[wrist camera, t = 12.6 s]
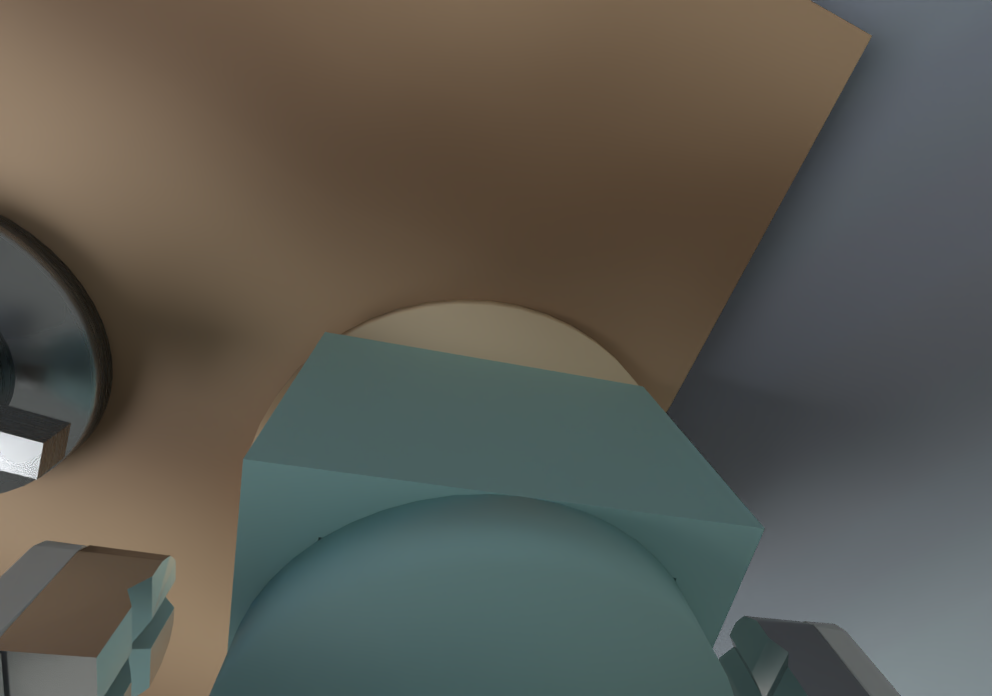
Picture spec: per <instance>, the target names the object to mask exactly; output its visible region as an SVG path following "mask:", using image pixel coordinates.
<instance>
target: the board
mask: <svg viewBox="0 0 992 696" xmlns="http://www.w3.org/2000/svg"><path fill="white" fill-rule="evenodd" d="M871 37H872V35H870V34H868V33H866V32H865V31H863V30H861V29H859V28H858V27H856V26H854V25H852V24H851V23H849V22H847V21H845V20H844V19H842V18H840V17H838V16H837V15H835V14H833V13H831V12H830V11H828V10H826V9H824V8H823V7H821V6H819V5H817V4H816V3H814V2H812V1H810V0H0V215H2V216H4V217H6V218H8V219H10V220H11V221H13V222H14V223H16V224H17V225H19V226H20V227H22V228H23V229H25V230H26V231H28V232H30V233H31V234H32V235H34V236H35V237H36V238H37V239H39V240H40V241H41V242H42V243H43V244H45V245H46V246H47V247H48V248H50V249H51V250H52V251H53V252H54V253H55V254H56V255H57V256H58V257H59V258H60V259H61V260H62V261H63V262H64V263H65V264H66V265H67V266H68V267H69V269H70V270H71V271H72V272H73V274H74V275H75V276H76V277H77V279H78V280H79V281H80V282H81V284H82V285H83V287H84V288H85V290H86V291H87V293H88V295H89V296H90V298H91V299H92V301H93V302H94V304H95V306H96V309H97V311H98V313H99V315H100V317H101V319H102V321H103V324H104V327H105V330H106V333H107V336H108V339H109V344H110V349H111V355H112V369H113V379H112V386H111V394H110V397H109V400H108V404H107V407H106V410H105V412H104V414H103V416H102V418H101V420H100V422H99V424H98V426H97V427H96V428H95V430H94V431H93V432H92V434H91V435H90V436H89V438H88V439H87V440H86V441H85V442H84V443H83V444H82V445H81V446H80V447H79V448H78V449H76V450H75V451H74V452H73V453H71V454H70V455H69V456H68V457H67V458H65V459H64V460H63V461H62V462H60V463H59V464H58V465H57V466H56V467H54V468H53V469H51V470H50V471H49V472H47V473H46V474H44V475H43V476H42V477H40V478H38V479H36V480H34V481H32V482H31V483H29V484H27V485H25V486H22V487H19V488H16V489H14V490H11V491H8V492H5V493H0V577H1V576H2V575H3V574H4V573H5V572H6V571H7V570H8V569H9V568H10V567H11V566H12V565H13V564H14V563H15V562H16V561H17V560H18V559H19V558H20V557H21V556H23V555H24V554H25V553H26V552H27V551H28V550H29V549H30V548H31V547H33V546H34V545H36V544H39V543H41V542H44V541H46V540H48V541H55V542H63V543H70V544H78V545H85V546H89V545H93V546H100V547H108V548H116V549H124V550H131V551H139V552H147V553H155V554H162V555H170V556H172V557H173V558H174V559H175V560H176V580H175V582H174V584H173V585H172V587H171V589H170V590H169V592H168V594H167V595H166V598H167V599H168V600H169V601H170V603H171V604H172V605H173V606H174V622H173V628H172V632H171V637H170V642H169V645H168V647H167V650H166V653H165V656H164V658H163V661H162V664H161V666H160V668H159V670H158V672H157V674H156V676H155V678H154V680H153V682H152V684H151V685H150V687H149V688H148V689H147V690H145V691H144V692H142V693H141V694H139V695H138V696H209V695H210V692H211V690H212V688H213V685H214V683H215V681H216V678H217V676H218V674H219V671H220V669H221V667H222V664H223V662H224V660H225V657H226V655H227V649H228V637H229V624H230V612H231V600H232V588H233V576H234V563H235V551H236V539H237V527H238V515H239V502H240V490H241V478H242V466H243V458H244V457H245V455H246V454H247V452H248V451H249V449H250V448H251V446H252V444H253V443H254V441H255V440H256V438H257V437H258V435H259V434H260V432H261V431H262V429H263V427H264V426H265V424H266V423H267V421H268V420H269V418H270V417H271V415H272V413H273V412H274V410H275V409H276V407H277V406H278V404H279V403H280V401H281V399H282V398H283V396H284V395H285V393H286V392H287V390H288V389H289V387H290V386H291V384H292V382H293V381H294V379H295V378H296V376H297V375H298V373H299V372H300V370H301V368H302V367H303V365H304V364H305V362H306V361H307V359H308V358H309V356H310V354H311V353H312V351H313V350H314V348H315V347H316V345H317V344H318V342H319V341H320V339H321V337H322V336H323V334H324V333H325V332H328V333H334V334H340V335H346V336H352V337H358V338H363V339H369V340H375V341H381V342H387V343H393V344H398V345H404V346H410V347H416V348H422V349H428V350H433V351H439V352H445V353H451V354H457V355H463V356H468V357H474V358H480V359H486V360H492V361H498V362H504V363H509V364H515V365H521V366H527V367H533V368H539V369H544V370H550V371H556V372H562V373H568V374H574V375H579V376H585V377H591V378H597V379H603V380H609V381H614V382H620V383H626V384H632V385H638V386H643V387H644V388H645V389H646V390H647V392H648V393H649V394H650V395H651V396H652V397H653V399H654V400H655V401H656V402H657V403H658V404H659V406H660V407H661V408H662V409H663V410H664V411H665V413H667V411H668V409H669V407H670V406H671V404H672V402H673V400H674V398H675V396H676V395H677V393H678V391H679V389H680V387H681V385H682V384H683V382H684V380H685V378H686V376H687V374H688V373H689V371H690V369H691V367H692V365H693V363H694V362H695V360H696V358H697V356H698V354H699V352H700V351H701V349H702V347H703V345H704V343H705V341H706V339H707V338H708V336H709V334H710V332H711V330H712V328H713V327H714V325H715V323H716V321H717V319H718V317H719V316H720V314H721V312H722V310H723V308H724V306H725V305H726V303H727V301H728V299H729V297H730V295H731V294H732V292H733V290H734V288H735V286H736V284H737V283H738V281H739V279H740V277H741V275H742V273H743V272H744V270H745V268H746V266H747V264H748V262H749V261H750V259H751V257H752V255H753V253H754V251H755V250H756V248H757V246H758V244H759V242H760V240H761V239H762V237H763V235H764V233H765V231H766V229H767V228H768V226H769V224H770V222H771V220H772V218H773V217H774V215H775V213H776V211H777V209H778V207H779V206H780V204H781V202H782V200H783V198H784V196H785V195H786V193H787V191H788V189H789V187H790V185H791V184H792V182H793V180H794V178H795V176H796V174H797V173H798V171H799V169H800V167H801V165H802V163H803V162H804V160H805V158H806V156H807V154H808V152H809V151H810V149H811V147H812V145H813V143H814V141H815V140H816V138H817V136H818V134H819V132H820V130H821V129H822V127H823V125H824V123H825V121H826V119H827V118H828V116H829V114H830V112H831V110H832V108H833V106H834V105H835V103H836V101H837V99H838V97H839V95H840V94H841V92H842V90H843V88H844V86H845V84H846V83H847V81H848V79H849V77H850V75H851V73H852V72H853V70H854V68H855V66H856V64H857V62H858V61H859V59H860V57H861V55H862V53H863V51H864V50H865V48H866V46H867V44H868V42H869V40H870V39H871Z"/></svg>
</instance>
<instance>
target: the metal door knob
mask: <svg viewBox="0 0 992 696" xmlns="http://www.w3.org/2000/svg"><path fill="white" fill-rule="evenodd" d="M112 379H113V369H112V355H111V349H110V344H109V339H108V336H107V333H106V330H105V327H104V324H103V321H102V319H101V317H100V315H99V313H98V311H97V309H96V306H95V304H94V302H93V301H92V299H91V298H90V296H89V295H88V293H87V291H86V290H85V288H84V287H83V285H82V284H81V282H80V281H79V280H78V279H77V277H76V276H75V275H74V274H73V272H72V271H71V270H70V269H69V267H68V266H67V265H66V264H65V263H64V262H63V261H62V260H61V259H60V258H59V257H58V256H57V255H56V254H55V253H54V252H53V251H52V250H51V249H50V248H48V247H47V246H46V245H45V244H43V243H42V242H41V241H40V240H39V239H37V238H36V237H35V236H34V235H32V234H31V233H30V232H28V231H26V230H25V229H23V228H22V227H20V226H19V225H17V224H16V223H14V222H13V221H11V220H10V219H8V218H6V217H4V216H2V215H0V493H5V492H8V491H11V490H14V489H16V488H19V487H22V486H25V485H27V484H29V483H31V482H32V481H34V480H36V479H38V478H40V477H42V476H43V475H44V474H46V473H47V472H49V471H50V470H51V469H53V468H54V467H56V466H57V465H58V464H59V463H60V462H62V461H63V460H64V459H65V458H67V457H68V456H69V455H70V454H71V453H73V452H74V451H75V450H76V449H78V448H79V447H80V446H81V445H82V444H83V443H84V442H85V441H86V440H87V439H88V438H89V436H90V435H91V434H92V432H93V431H94V430H95V428H96V427H97V426H98V424H99V422H100V420H101V418H102V416H103V414H104V412H105V410H106V407H107V404H108V400H109V397H110V394H111V386H112Z"/></svg>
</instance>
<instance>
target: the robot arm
mask: <svg viewBox="0 0 992 696" xmlns="http://www.w3.org/2000/svg"><path fill="white" fill-rule="evenodd" d="M175 580H176V560H175V559H174V558H173V557H172V556H170V555H162V554H155V553H147V552H139V551H131V550H124V549H116V548H108V547H100V546H93V545H89V546H85V545H78V544H70V543H63V542H55V541H48V540H46V541H44V542H41V543H39V544H36V545H34V546H33V547H31V548H30V549H29V550H28V551H27V552H26V553H25V554H24V555H23V556H21V557H20V558H19V559H18V560H17V561H16V562H15V563H14V564H13V565H12V566H11V567H10V568H9V569H8V570H7V571H6V572H5V573H4V574H3V575H2V576H1V577H0V696H138V695H139V694H141V693H142V692H144V691H145V690H147V689H148V688H149V687H150V685H151V684H152V682H153V680H154V678H155V676H156V674H157V672H158V670H159V668H160V666H161V664H162V661H163V658H164V656H165V653H166V650H167V647H168V645H169V642H170V637H171V632H172V628H173V622H174V606H173V605H172V604H171V603H170V601H169V600H168V599H167V598H166V595H167V594H168V592H169V590H170V589H171V587H172V585H173V584H174V582H175ZM730 637H731V640H732V643H733V646H734V647H733V648H732V649H731V650H729V651H728V652H727V653H725V654H724V655H723V656H721V657H720V658H719V662H720V664H721V665H722V667H723V669H724V671H725V673H726V675H727V676H728V679H729V682H730V685H731V688H732V691H733V694H734V696H901V695H900V694H899V693H898V692H897V691H896V689H895V688H894V687H893V686H892V685H891V684H890V682H889V681H888V680H887V679H886V678H885V676H884V675H883V674H882V673H881V672H880V671H879V669H878V668H877V667H876V666H875V665H874V663H873V662H872V661H871V660H870V659H869V658H868V656H867V655H866V654H865V653H864V652H863V651H862V649H861V648H860V647H859V646H858V645H857V643H856V642H855V641H854V640H853V639H852V638H851V636H850V635H849V634H848V633H847V632H846V631H845V630H843V629H842V628H840V627H839V626H837V625H835V624H830V623H819V622H807V621H804V622H800V621H792V620H781V619H771V618H760V617H750V616H744V617H742V618H741V619H740V620H738V621H737V622H736V623H735V625H734V628H733V630H732V632H731V634H730Z"/></svg>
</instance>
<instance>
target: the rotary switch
mask: <svg viewBox="0 0 992 696" xmlns="http://www.w3.org/2000/svg"><path fill="white" fill-rule="evenodd" d="M764 529H765V528H764V527H763V526H762V525H761V524H760V523H759V521H758V520H757V519H756V518H755V517H754V516H753V514H752V513H751V512H750V511H749V510H748V509H747V507H746V506H745V505H744V504H743V503H742V502H741V500H740V499H739V498H738V497H737V496H736V494H735V493H734V492H733V491H732V490H731V489H730V487H729V486H728V485H727V484H726V483H725V482H724V480H723V479H722V478H721V477H720V476H719V475H718V473H717V472H716V471H715V470H714V469H713V468H712V466H711V465H710V464H709V463H708V462H707V461H706V459H705V458H704V457H703V456H702V455H701V454H700V452H699V451H698V450H697V449H696V448H695V447H694V445H693V444H692V443H691V442H690V441H689V440H688V438H687V437H686V436H685V435H684V434H683V432H682V431H681V430H680V429H679V428H678V427H677V425H676V424H675V423H674V422H673V421H672V420H671V418H670V417H669V416H668V415H667V414H666V413H665V411H664V410H663V409H662V408H661V407H660V406H659V404H658V403H657V402H656V401H655V400H654V399H653V397H652V396H651V395H650V394H649V393H648V392H647V390H646V389H645V388H644V387H643V386H638V385H632V384H626V383H620V382H614V381H609V380H603V379H597V378H591V377H585V376H579V375H574V374H568V373H562V372H556V371H550V370H544V369H539V368H533V367H527V366H521V365H515V364H509V363H504V362H498V361H492V360H486V359H480V358H474V357H468V356H463V355H457V354H451V353H445V352H439V351H433V350H428V349H422V348H416V347H410V346H404V345H398V344H393V343H387V342H381V341H375V340H369V339H363V338H358V337H352V336H346V335H340V334H334V333H328V332H325V333H324V334H323V336H322V337H321V339H320V341H319V342H318V344H317V345H316V347H315V348H314V350H313V351H312V353H311V354H310V356H309V358H308V359H307V361H306V362H305V364H304V365H303V367H302V368H301V370H300V372H299V373H298V375H297V376H296V378H295V379H294V381H293V382H292V384H291V386H290V387H289V389H288V390H287V392H286V393H285V395H284V396H283V398H282V399H281V401H280V403H279V404H278V406H277V407H276V409H275V410H274V412H273V413H272V415H271V417H270V418H269V420H268V421H267V423H266V424H265V426H264V427H263V429H262V431H261V432H260V434H259V435H258V437H257V438H256V440H255V441H254V443H253V444H252V446H251V448H250V449H249V451H248V452H247V454H246V455H245V457H244V458H243V466H242V478H241V490H240V502H239V515H238V527H237V539H236V551H235V563H234V576H233V588H232V600H231V612H230V624H229V637H228V649H227V655H226V657H225V660H224V662H223V664H222V667H221V669H220V671H219V674H218V676H217V678H216V681H215V683H214V685H213V688H212V690H211V692H210V695H209V696H734V694H733V691H732V688H731V685H730V682H729V679H728V676H727V675H726V673H725V671H724V669H723V667H722V665H721V664H720V662H719V660H718V658H717V656H716V654H715V652H714V651H713V649H712V648H713V646H714V643H715V641H716V639H717V637H718V634H719V632H720V630H721V627H722V625H723V623H724V621H725V618H726V616H727V614H728V611H729V609H730V607H731V605H732V602H733V600H734V598H735V595H736V593H737V591H738V589H739V586H740V584H741V582H742V579H743V577H744V575H745V573H746V570H747V568H748V566H749V563H750V561H751V559H752V557H753V554H754V552H755V550H756V547H757V545H758V543H759V541H760V538H761V536H762V534H763V531H764Z"/></svg>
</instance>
